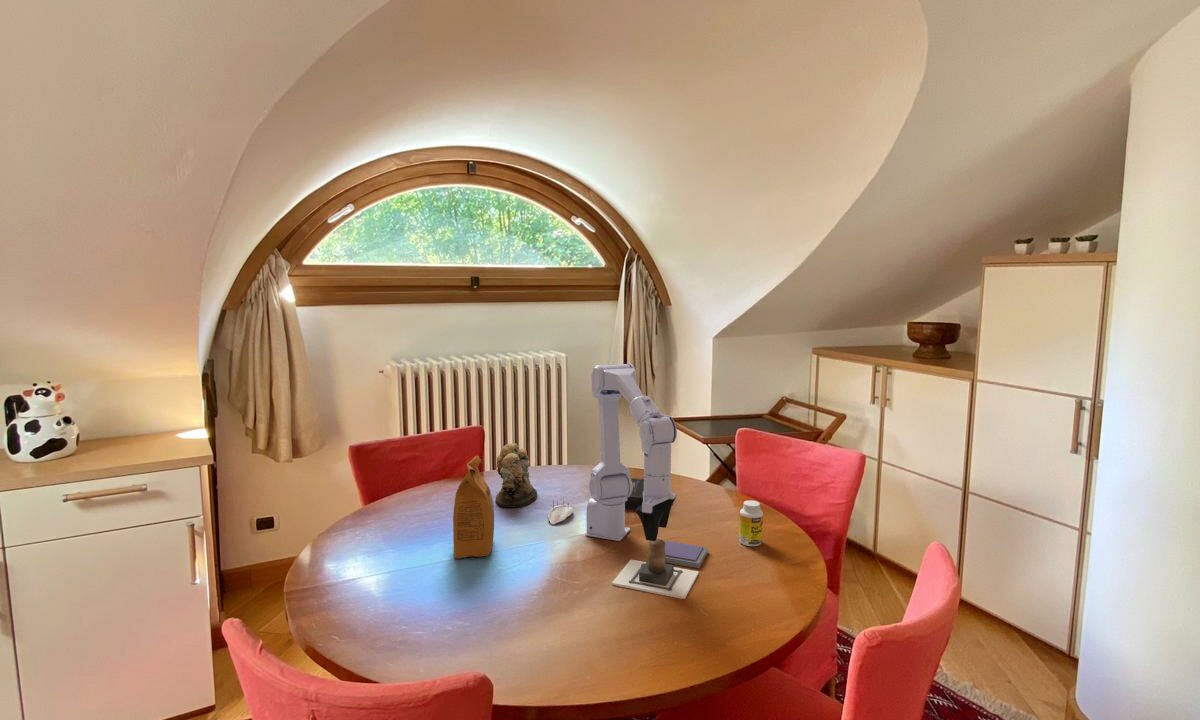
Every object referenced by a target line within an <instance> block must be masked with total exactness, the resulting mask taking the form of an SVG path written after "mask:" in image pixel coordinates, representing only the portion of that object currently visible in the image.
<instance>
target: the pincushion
mask: <svg viewBox="0 0 1200 720" xmlns="http://www.w3.org/2000/svg"><path fill="white" fill-rule="evenodd" d="M562 501H563V502H562V503H563V504H560V505H559V504H558V501H557V502H556V503H557V505H554V500H552V505H553V506H552V508H551V509H550V510H549V511H548V515H547V519H548V520H549V523H550V524H551V525H555V524H557V523H560V522H562V521H565V520H566V519H567V517H569V516H571V514H573V513H574V509H573V507H572V506H571V505H570V506H569V504H565V502H564V498H563V499H562Z"/></svg>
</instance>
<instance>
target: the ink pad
mask: <svg viewBox="0 0 1200 720" xmlns="http://www.w3.org/2000/svg"><path fill="white" fill-rule="evenodd" d="M663 541H665V564H670V565H678V566H683V567H688V568H693V569H700V568H701V566H702V564H703V562H704V560H705V559H706V557H707V555H708V554H709V547H706V546H701V545H696V544H695V545H694V544H689V543H682V542H676V541H670V540H665V539H664V540H663Z"/></svg>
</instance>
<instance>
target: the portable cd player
mask: <svg viewBox="0 0 1200 720" xmlns="http://www.w3.org/2000/svg"><path fill="white" fill-rule="evenodd" d="M631 480H632V493H631V495H630V496H629V497H627V501H625V510H637V508H638V507H639V506H642V503H643V491H644V478H632V477H631Z"/></svg>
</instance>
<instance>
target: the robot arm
mask: <svg viewBox="0 0 1200 720" xmlns="http://www.w3.org/2000/svg"><path fill="white" fill-rule="evenodd" d="M590 376H591V377H590V378H591V392H592V397H594V398H596V399H597V402H598V404H597V405H598V420H599V421H598V422H599V423H598V425H599V445H600V447H599V448H600V462H599V463H598V464H597V465H596V466H595V467H593V468H592V469H591V470H590V480H589V486H588V487H589V493H590V496H591V497H590V498H589V500H588V502H587V505H586V513H585V514H586V532H585V534H584V535H585V536H586V537H593V538H599V539H604V540H610V541H617V542H620V541H622V540H623V538H624V537H625V536H626V535H627V534H628V533H629V532H630V530H631V528H630V527H625V526H626V523H625V521H626V509H625V501H627V497H629V496H630V495H631V493H632V480H631V478H632V477H631V471H630V468H629V467H627V465H626V464H623V463H622V462H621V446H620V445H621V443H620V423H619V422H620V421H619V403H618V402H619V400H620V399H621V397H622V396H623V398H624V400H625V401H627V403H628V404H629V406H628V412H629V414H630V415H631V417H632V419H634V421H635V423H636V425H637V426H638V428H639V430H638V431H639V437H640V442H641V451H642V452H643V454H644V455H643V479H644V491H643V503H642V506H639V507H638V508H637V509H635V511H636V514H637V516H638V518H639V519H640V521H641V525H642V528H643V533H644V537H645V540H646V541H648V542H649V541H656V539H658V534H659V528H664V529H667V526H668V523H669V517H670V515H671V514H670V512H671V510H672V508H673V505H674V503H675V500H676V498H677V494H676V493H675V492H672V488H671V487H672V486H671V485H672V483H671V480H672V478H671V477H672V476H671V475H672V474H671V473H672V443H675V442H676V440H677V436H678V435H677V433H678V430H677V425H676V422H675V420H674V418H673V416H671V415H667V414H664V413H662V411H661V410H660V408H658V406H657V405H656V402H654V401H653V399H652V398H651V397H650V396H648V395H644V394H643V392H642V390H641V389H640V387H639V385H638V383H637V371H636V368H635V366H634V365H633V364H632V363H631V362H630V363H624V364H622V363H619V364H605V365H600V364H596V365H595V366H594V367H593V369H592V372H591V375H590Z"/></svg>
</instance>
